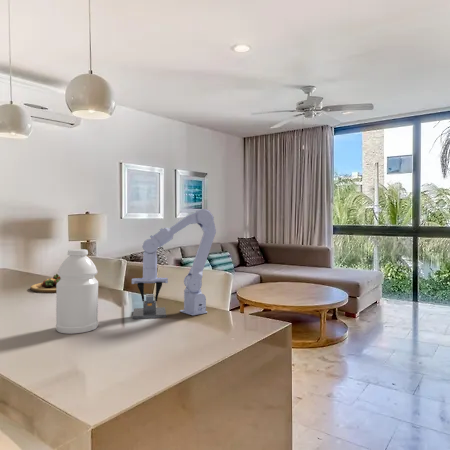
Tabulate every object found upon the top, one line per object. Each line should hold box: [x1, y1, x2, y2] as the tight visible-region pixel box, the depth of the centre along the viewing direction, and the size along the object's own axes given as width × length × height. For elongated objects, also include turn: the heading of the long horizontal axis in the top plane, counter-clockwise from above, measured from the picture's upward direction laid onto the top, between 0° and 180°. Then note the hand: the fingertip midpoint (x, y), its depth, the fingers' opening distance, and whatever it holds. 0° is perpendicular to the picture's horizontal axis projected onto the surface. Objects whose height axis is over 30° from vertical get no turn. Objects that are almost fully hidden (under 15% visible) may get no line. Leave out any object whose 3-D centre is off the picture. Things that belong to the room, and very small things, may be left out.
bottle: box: [55, 248, 99, 335], centre depth 130 cm, size 14×14×28 cm
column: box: [145, 293, 155, 303], centre depth 152 cm, size 3×3×7 cm
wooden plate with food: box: [30, 273, 61, 294], centre depth 212 cm, size 32×32×8 cm
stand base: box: [132, 299, 167, 320], centre depth 152 cm, size 13×13×5 cm
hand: (149, 300), depth 152 cm, fingers open, 5 cm apart
